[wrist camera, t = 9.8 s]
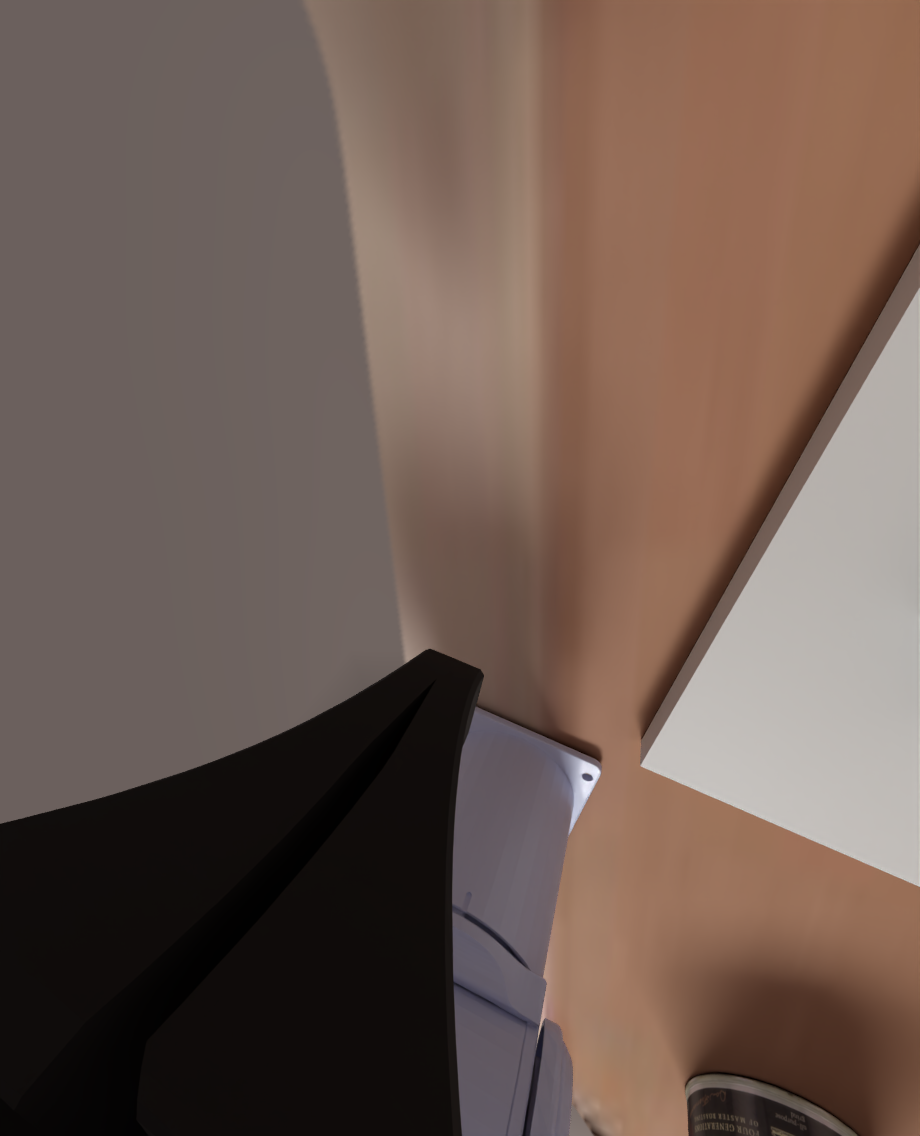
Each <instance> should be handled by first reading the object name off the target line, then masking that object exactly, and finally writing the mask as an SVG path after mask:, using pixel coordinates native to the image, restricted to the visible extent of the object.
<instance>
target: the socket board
mask: <svg viewBox="0 0 920 1136" xmlns="http://www.w3.org/2000/svg"><path fill="white" fill-rule="evenodd" d="M640 766H642V767H644V768H646V769H648V770H651V771H653V772H655V773H658V774H660V775H662V776H665V777H667V778H669V779H672V780H674V781H676V782H679V783H681V784H683V785H685V786H688V787H690V788H692V789H695V790H697V791H699V792H702V793H704V794H706V795H709V796H711V797H713V798H716V799H718V800H720V801H723V802H725V803H727V804H729V805H732V806H734V807H736V808H739V809H741V810H743V811H746V812H748V813H750V814H753V815H755V816H757V817H760V818H762V819H764V820H766V821H769V822H771V823H773V824H776V825H778V826H780V827H783V828H785V829H787V830H790V831H792V832H794V833H797V834H799V835H801V836H804V837H806V838H808V839H810V840H813V841H815V842H817V843H820V844H822V845H824V846H827V847H829V848H831V849H834V850H836V851H838V852H841V853H843V854H845V855H847V856H850V857H852V858H854V859H857V860H859V861H861V862H864V863H866V864H868V865H871V866H873V867H875V868H878V869H880V870H882V871H885V872H887V873H889V874H891V875H894V876H896V877H898V878H901V879H903V880H905V881H908V882H910V883H912V884H915V885H917V886H919V887H920V245H919V246H918V248H917V250H916V252H915V253H914V255H913V257H912V259H911V261H910V262H909V264H908V266H907V268H906V269H905V271H904V273H903V275H902V277H901V278H900V280H899V282H898V284H897V286H896V287H895V289H894V291H893V293H892V294H891V296H890V298H889V300H888V302H887V303H886V305H885V307H884V309H883V310H882V312H881V314H880V316H879V318H878V319H877V321H876V323H875V325H874V327H873V328H872V330H871V332H870V334H869V335H868V337H867V339H866V341H865V343H864V344H863V346H862V348H861V350H860V351H859V353H858V355H857V357H856V359H855V360H854V362H853V364H852V366H851V368H850V369H849V371H848V373H847V375H846V376H845V378H844V380H843V382H842V384H841V385H840V387H839V389H838V391H837V393H836V394H835V396H834V398H833V400H832V401H831V403H830V405H829V407H828V409H827V410H826V412H825V414H824V416H823V417H822V419H821V421H820V423H819V425H818V426H817V428H816V430H815V432H814V434H813V435H812V437H811V439H810V441H809V442H808V444H807V446H806V448H805V450H804V451H803V453H802V455H801V457H800V458H799V460H798V462H797V464H796V466H795V467H794V469H793V471H792V473H791V475H790V476H789V478H788V480H787V482H786V483H785V485H784V487H783V489H782V491H781V492H780V494H779V496H778V498H777V499H776V501H775V503H774V505H773V507H772V508H771V510H770V512H769V514H768V516H767V517H766V519H765V521H764V523H763V524H762V526H761V528H760V530H759V532H758V533H757V535H756V537H755V539H754V540H753V542H752V544H751V546H750V548H749V549H748V551H747V553H746V555H745V557H744V558H743V560H742V562H741V564H740V565H739V567H738V569H737V571H736V573H735V574H734V576H733V578H732V580H731V581H730V583H729V585H728V587H727V589H726V590H725V592H724V594H723V596H722V598H721V599H720V601H719V603H718V605H717V606H716V608H715V610H714V612H713V614H712V615H711V617H710V619H709V621H708V622H707V624H706V626H705V628H704V630H703V631H702V633H701V635H700V637H699V639H698V640H697V642H696V644H695V646H694V647H693V649H692V651H691V653H690V655H689V656H688V658H687V660H686V662H685V663H684V665H683V667H682V669H681V671H680V672H679V674H678V676H677V678H676V680H675V681H674V683H673V685H672V687H671V688H670V690H669V692H668V694H667V696H666V697H665V699H664V701H663V703H662V704H661V706H660V708H659V710H658V712H657V713H656V715H655V717H654V719H653V721H652V722H651V724H650V726H649V728H648V729H647V731H646V733H645V735H644V737H643V738H642V740H641V760H640Z"/></svg>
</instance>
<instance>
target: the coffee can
mask: <svg viewBox="0 0 920 1136" xmlns="http://www.w3.org/2000/svg"><path fill="white" fill-rule="evenodd" d="M685 1094H686V1100H687V1109H688V1132H689V1136H858V1135H857V1134H856V1133H855V1132H854V1131H853V1130H852V1129H850V1128H849V1127H848V1126H846V1125H844V1124H843V1123H842V1122H841V1121H839V1120H838V1119H837V1118H835V1117H834V1116H832V1115H831V1114H829V1113H828V1112H826V1111H824V1110H823V1109H821V1108H820V1107H818V1106H816V1105H814V1104H812V1103H810V1102H809V1101H807V1100H805V1099H803V1098H801V1097H798V1096H796V1095H794V1094H792V1093H790V1092H787V1091H785V1090H783V1089H780V1088H778V1087H775V1086H772V1085H769V1084H766V1083H763V1082H760V1081H756V1080H753V1079H749V1078H745V1077H741V1076H736V1075H729V1074H705V1075H699V1076H696V1077H694V1078H692V1079H691V1080H690V1081H689V1082H688V1083H687V1085H686V1088H685Z"/></svg>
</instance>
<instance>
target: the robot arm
mask: <svg viewBox="0 0 920 1136" xmlns="http://www.w3.org/2000/svg"><path fill="white" fill-rule="evenodd" d="M483 678H484V675H483V673H482V671H481V669H478V668H476V667H473V666H471V665H469V664H466V663H464V662H461V661H459V660H456V659H454V658H452V657H449V656H447V655H444V654H442V653H440V652H437V651H435V650H432V649H428V650H425V651H424V652H422V653H421V654H419V655H418V656H416V657H415V658H413V659H412V660H410V661H409V662H407V663H406V664H404V665H403V666H401V667H400V668H398V669H397V670H395V671H394V672H392V673H391V674H389V675H387V676H386V677H384V678H383V679H381V680H379V681H378V682H376V683H374V684H373V685H371V686H369V687H368V688H366V689H364V690H363V691H361V692H359V693H358V694H356V695H355V696H353V697H351V698H349V699H347V700H346V701H344V702H342V703H340V704H338V705H336V706H334V707H333V708H331V709H329V710H327V711H325V712H323V713H321V714H319V715H317V716H316V717H314V718H312V719H310V720H308V721H306V722H304V723H302V724H300V725H298V726H296V727H294V728H292V729H290V730H287V731H285V732H283V733H281V734H279V735H276V736H274V737H272V738H270V739H267V740H265V741H263V742H260V743H258V744H256V745H253V746H251V747H249V748H246V749H244V750H241V751H238V752H236V753H234V754H231V755H228V756H226V757H224V758H221V759H218V760H216V761H213V762H210V763H208V764H205V765H202V766H199V767H197V768H194V769H191V770H188V771H185V772H182V773H179V774H176V775H173V776H170V777H167V778H164V779H161V780H157V781H154V782H151V783H148V784H145V785H141V786H138V787H135V788H132V789H129V790H126V791H123V792H119V793H116V794H113V795H110V796H106V797H102V798H99V799H96V800H92V801H88V802H84V803H80V804H76V805H73V806H69V807H65V808H61V809H57V810H53V811H49V812H45V813H41V814H38V815H34V816H30V817H26V818H23V819H18V820H14V821H10V822H6V823H2V824H0V1136H569V1129H570V1116H571V1104H572V1086H573V1065H572V1059H571V1057H570V1054H569V1052H568V1050H567V1047H566V1045H565V1043H564V1041H563V1036H562V1031H561V1028H560V1026H558V1025H557V1024H556V1023H554V1022H552V1021H550V1020H548V1019H546V1018H545V1019H544V1021H543V1023H542V1027H541V1031H540V1035H539V1038H538V1030H539V1025H540V1020H541V1014H542V1008H543V1002H544V996H545V991H546V985H547V983H546V980H545V979H544V978H543V974H544V968H545V963H546V957H547V952H548V946H549V941H550V935H551V930H552V924H553V918H554V913H555V907H556V902H557V896H558V891H559V885H560V880H561V874H562V868H563V863H564V857H565V852H566V846H567V841H568V836H569V834H570V832H571V830H572V829H573V827H574V825H575V823H576V821H577V819H578V817H579V815H580V813H581V811H582V809H583V808H584V806H585V804H586V802H587V800H588V798H589V796H590V794H591V792H592V790H593V788H594V787H595V785H596V783H597V781H598V779H599V777H600V775H601V770H602V766H601V764H600V762H599V761H597V760H596V759H594V758H592V757H589V756H587V755H585V754H583V753H580V752H578V751H576V750H574V749H571V748H569V747H567V746H564V745H562V744H560V743H558V742H555V741H553V740H551V739H548V738H546V737H544V736H542V735H539V734H537V733H535V732H533V731H530V730H528V729H526V728H523V727H521V726H519V725H517V724H514V723H512V722H510V721H508V720H505V719H503V718H501V717H498V716H496V715H494V714H492V713H489V712H487V711H485V710H482V709H480V708H478V707H476V704H477V700H478V696H479V693H480V689H481V685H482V681H483ZM585 773H588V774H590V775H587V774H585ZM537 1038H538V1043H537ZM536 1046H537V1047H536Z"/></svg>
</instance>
